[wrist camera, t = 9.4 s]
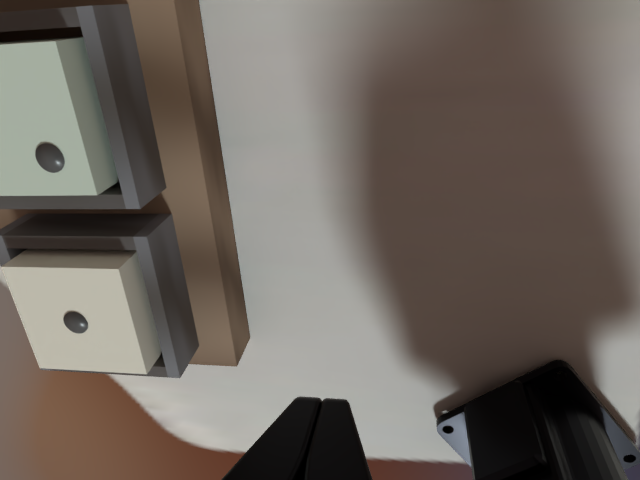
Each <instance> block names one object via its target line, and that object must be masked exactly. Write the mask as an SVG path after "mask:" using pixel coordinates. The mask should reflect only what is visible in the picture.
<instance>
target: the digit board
mask: <svg viewBox="0 0 640 480" xmlns="http://www.w3.org/2000/svg"><path fill="white" fill-rule="evenodd" d="M81 36H83V38H84V42H85V46H86V50H87V54H88V58H89V62H90V66H91V70H92V74H93V78H94V82H95V86H96V90H97V94H98V98H99V102H100V106H101V110H102V114H103V118H104V122H105V126H106V130H107V134H108V138H109V142H110V146H111V150H112V154H113V158H114V162H115V166H116V170H117V174H118V178H119V182H117V183H115V184H114V185H112V186H111V187H109V188H108V189H106V190H105V191H103V192H102V193H100V194H99V195H70V196H0V265H1V266H3V265H4V264H6V263H7V262H9V261H10V260H12V259H13V258H14V257H16V256H17V255H19V254H20V253H22V252H23V251H25V250H26V249H91V250H136V251H137V255H138V259H139V263H140V267H141V271H142V275H143V279H144V283H145V287H146V291H147V295H148V299H149V303H150V307H151V311H152V315H153V319H154V323H155V327H156V331H157V335H158V339H159V343H160V347H161V351H162V353H161V355H160V356H159V358H158V359H157V361H156V362H155V363H154V365H153V366H152V368H151V369H150V371H149V372H148V374H131V373H114V372H97V371H80V370H63V369H46V368H40V369H41V370H54V371H71V372H87V373H104V374H121V375H138V376H155V377H172V378H180V377H181V376H182V374H183V372H184V371H185V369H186V367H187V366H188V364H201V365H220V366H237V365H238V363H239V361H240V359H241V356H242V354H243V352H244V350H245V348H246V346H247V343H248V341H249V339H250V334H249V327H248V321H247V314H246V308H245V301H244V295H243V288H242V282H241V275H240V268H239V262H238V255H237V249H236V242H235V236H234V229H233V223H232V216H231V210H230V203H229V197H228V190H227V184H226V177H225V170H224V164H223V157H222V151H221V144H220V138H219V131H218V125H217V118H216V112H215V105H214V99H213V92H212V86H211V79H210V73H209V66H208V59H207V53H206V46H205V40H204V33H203V27H202V20H201V14H200V7H199V1H198V0H0V42H4V41H20V40H35V39H50V38H66V37H81Z"/></svg>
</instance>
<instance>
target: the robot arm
mask: <svg viewBox="0 0 640 480" xmlns="http://www.w3.org/2000/svg"><path fill="white" fill-rule="evenodd" d="M559 371H563V373H562V374H559V375H557V374H555V373H557V372H559ZM447 425H449V426H451V427H445V426H447ZM437 432H438V433H439V434H440V436H441V437H442V438H443V439H444V440H445V441H446V442H447V443H448V444H449V445H450V446H451V447H452V448H453V449H454V450H455V451H456V452H457V453H458V454H459V455H460V456H461V457H462V458H463V459H464V460H465V461H466V462H467V464H468V465H469V466H470V467H471V468H472V475H473V480H628V479H627V476H626V474H625V472H624V470H625V469H628V468H630V467H633V466H636V465H637V464H639V463H640V451H639V449H638V447H637V446H636V445H635V443H634V442H633V441H632V440H631V439H630V437H629V436H628V435H627V434H626V433H625V431H624V430H623V429H622V428H621V426H620V425H619V424H618V423H617V422H616V420H615V419H614V418H613V417H612V416H611V414H610V413H609V412H608V411H607V409H606V408H605V407H604V406H603V405H602V403H601V402H600V401H599V400H598V399H597V397H596V396H595V395H594V394H593V393H592V391H591V390H590V389H589V388H588V386H587V385H586V384H585V383H584V382H583V380H582V379H581V378H580V377H579V376H578V374H577V373H576V372H575V371H574V369H573V368H572V367H571V366H570V365H569V364H568V363H567V362H565V361H562V360H556V361H552V362H550V363H548V364H546V365H544V366H542V367H540V368H538V369H536V370H534V371H532V372H530V373H528V374H526V375H524V376H522V377H519V378H517V379H515V380H513V381H511V382H509V383H507V384H505V385H503V386H501V387H499V388H497V389H495V390H493V391H491V392H489V393H487V394H485V395H483V396H481V397H479V398H477V399H475V400H473V401H471V402H469V403H467V404H464V405H462V406H460V407H458V408H456V409H454V410H452V411H450V412H448V413H446V414H444V415H442V416H440V417H439V418H438V419H437ZM629 454H630V455H629ZM222 480H372V477H371V474H370V471H369V467H368V464H367V460H366V457H365V454H364V451H363V447H362V444H361V441H360V437H359V434H358V431H357V428H356V424H355V421H354V418H353V414H352V411H351V408H350V405H349V402H348V401H347V400H345V399H330V398H326V399H324V400H323V401H322V400H321V399H320V398H315V397H297V398H296V399H295V400H294V401H293V402H292V403H291V404H290V405H289V406H288V407H287V408H286V409H285V410H284V412H283V413H282V414H281V415H280V416H279V417H278V418H277V419H276V420H275V421H274V422H273V424H272V425H271V426H270V427H269V428H268V429H267V430H266V431H265V432H264V433H263V435H262V436H261V437H260V438H259V439H258V440H257V441H256V442H255V443H254V444H253V446H252V447H251V448H250V449H249V450H248V451H247V452H246V453H245V454H244V455H243V457H242V458H241V459H240V460H239V461H238V462H237V463H236V464H235V465H234V467H233V468H232V469H231V470H230V471H229V472H228V473H227V474H226V475H225V476H224V477H223V478H222Z"/></svg>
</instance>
